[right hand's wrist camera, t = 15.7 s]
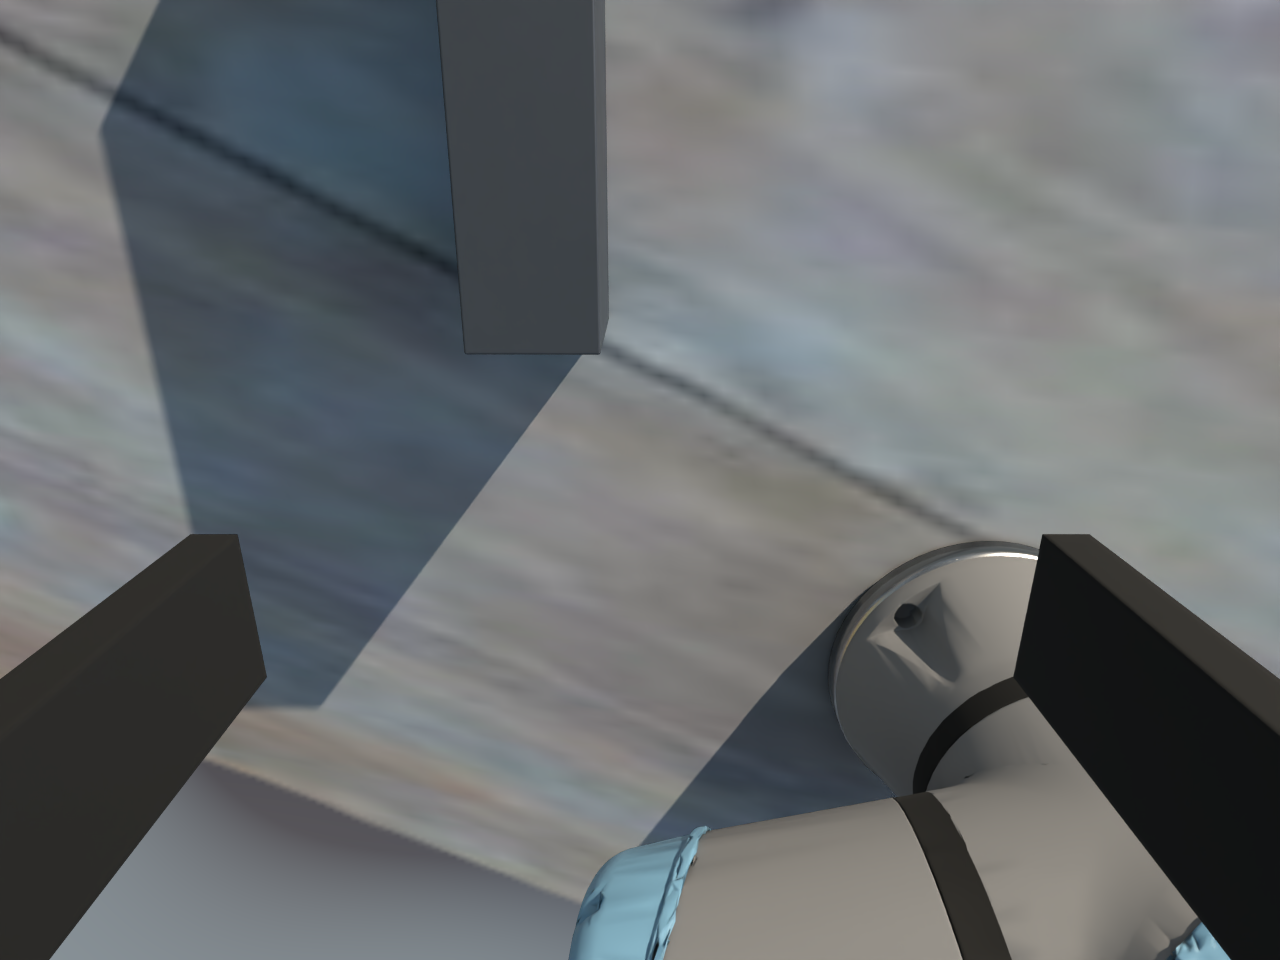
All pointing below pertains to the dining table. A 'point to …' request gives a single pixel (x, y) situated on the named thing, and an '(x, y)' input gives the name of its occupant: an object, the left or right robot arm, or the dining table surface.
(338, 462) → the dining table surface
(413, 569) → the dining table surface
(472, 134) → the beam
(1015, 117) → the dining table surface
